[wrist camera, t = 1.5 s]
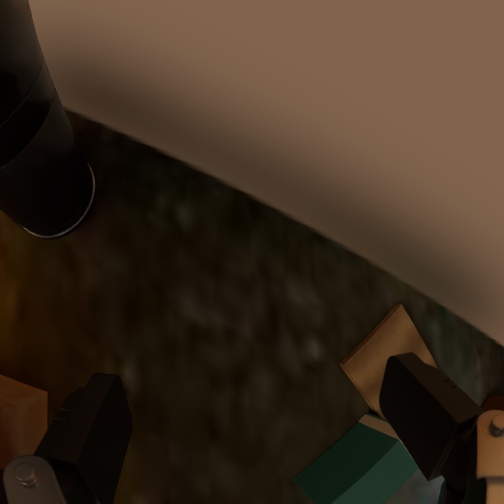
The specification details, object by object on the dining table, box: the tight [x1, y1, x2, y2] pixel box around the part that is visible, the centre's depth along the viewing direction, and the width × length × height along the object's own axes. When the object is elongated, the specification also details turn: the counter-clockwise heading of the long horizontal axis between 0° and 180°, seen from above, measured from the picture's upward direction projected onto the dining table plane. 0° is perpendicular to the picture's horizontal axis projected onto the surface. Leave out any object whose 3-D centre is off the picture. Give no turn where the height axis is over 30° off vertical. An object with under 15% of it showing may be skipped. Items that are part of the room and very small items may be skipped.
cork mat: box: [339, 304, 438, 420], centre depth 31 cm, size 20×10×1 cm, turn 36°
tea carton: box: [293, 413, 419, 504], centre depth 24 cm, size 6×11×8 cm, turn 126°
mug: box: [481, 395, 504, 412], centre depth 29 cm, size 12×8×9 cm, turn 70°
